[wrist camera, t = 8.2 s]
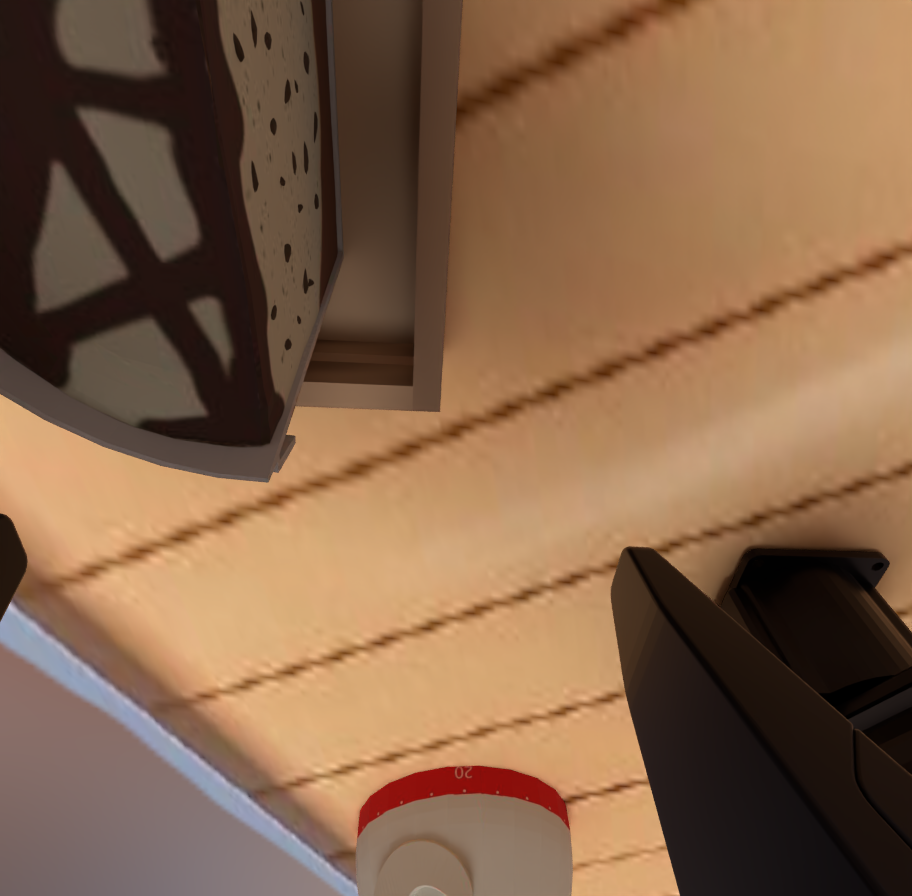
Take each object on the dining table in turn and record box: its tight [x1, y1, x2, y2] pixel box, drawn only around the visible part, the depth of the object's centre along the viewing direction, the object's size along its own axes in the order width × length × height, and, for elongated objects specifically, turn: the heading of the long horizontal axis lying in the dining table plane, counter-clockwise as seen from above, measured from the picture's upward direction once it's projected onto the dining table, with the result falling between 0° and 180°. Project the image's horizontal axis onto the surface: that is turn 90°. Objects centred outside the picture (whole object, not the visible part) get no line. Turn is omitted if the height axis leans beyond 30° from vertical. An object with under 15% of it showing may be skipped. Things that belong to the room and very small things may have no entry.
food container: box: [0, 0, 344, 482], centre depth 11 cm, size 12×6×10 cm, turn 177°
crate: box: [295, 0, 463, 412], centre depth 14 cm, size 11×17×4 cm, turn 176°
